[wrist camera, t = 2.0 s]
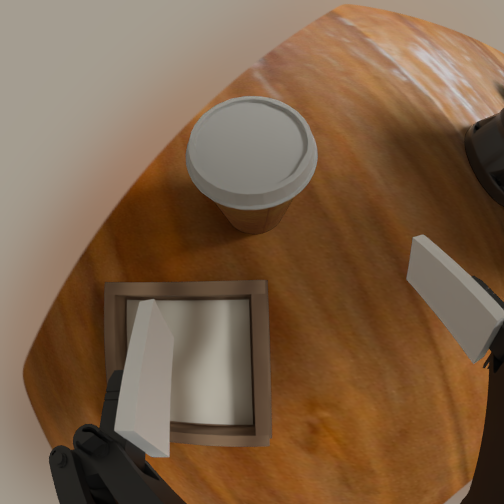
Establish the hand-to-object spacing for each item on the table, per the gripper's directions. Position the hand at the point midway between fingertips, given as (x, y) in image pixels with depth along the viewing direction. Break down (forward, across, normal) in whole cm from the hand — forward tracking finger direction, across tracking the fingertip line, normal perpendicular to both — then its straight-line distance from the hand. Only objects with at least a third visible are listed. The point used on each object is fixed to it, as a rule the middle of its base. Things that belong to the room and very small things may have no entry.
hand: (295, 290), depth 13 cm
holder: (+8, -10, -13) cm, 18 cm away
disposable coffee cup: (+18, 0, -3) cm, 18 cm away
